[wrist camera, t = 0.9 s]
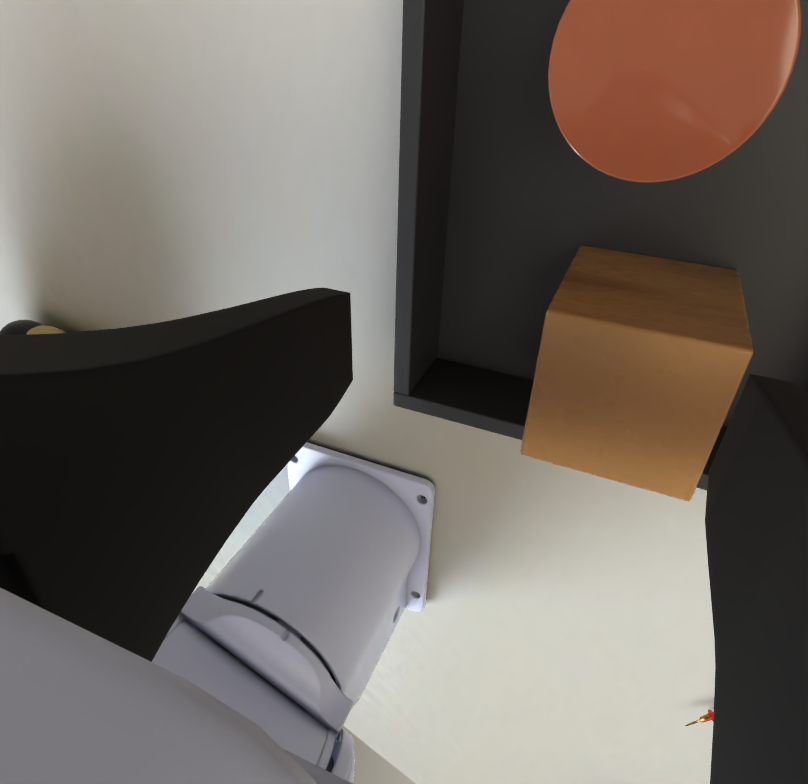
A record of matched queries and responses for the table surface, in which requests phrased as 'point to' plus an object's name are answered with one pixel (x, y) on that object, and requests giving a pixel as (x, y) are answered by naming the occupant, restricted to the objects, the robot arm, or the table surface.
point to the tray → (561, 215)
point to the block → (637, 369)
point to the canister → (668, 80)
